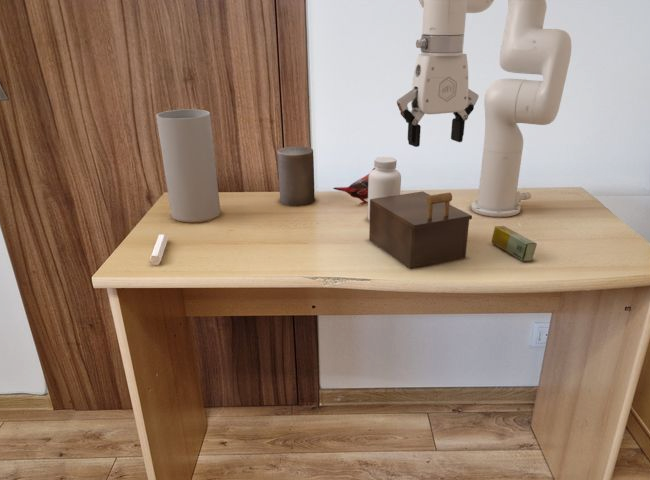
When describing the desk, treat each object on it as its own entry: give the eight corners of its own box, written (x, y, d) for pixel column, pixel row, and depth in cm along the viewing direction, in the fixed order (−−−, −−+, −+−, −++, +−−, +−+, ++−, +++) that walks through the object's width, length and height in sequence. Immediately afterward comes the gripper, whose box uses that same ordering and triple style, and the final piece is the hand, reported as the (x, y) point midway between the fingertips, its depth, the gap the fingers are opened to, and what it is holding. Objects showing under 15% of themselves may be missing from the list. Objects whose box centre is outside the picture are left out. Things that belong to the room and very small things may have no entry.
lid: (471, 219, 129) (474, 192, 126) (414, 229, 124) (415, 201, 121) (422, 194, 144) (424, 170, 141) (369, 202, 139) (370, 177, 136)
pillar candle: (321, 199, 172) (320, 143, 164) (301, 208, 165) (299, 151, 157) (293, 194, 176) (290, 139, 169) (272, 203, 169) (268, 146, 161)
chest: (465, 258, 134) (469, 218, 129) (410, 269, 129) (412, 228, 124) (420, 231, 149) (422, 194, 144) (369, 240, 144) (369, 202, 139)
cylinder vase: (187, 227, 153) (172, 121, 140) (163, 215, 161) (146, 114, 148) (230, 216, 160) (219, 114, 147) (205, 205, 168) (193, 107, 155)
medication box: (533, 261, 132) (538, 243, 130) (523, 262, 131) (528, 244, 129) (499, 241, 142) (503, 224, 140) (490, 242, 140) (493, 225, 139)
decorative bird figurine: (389, 201, 170) (391, 164, 165) (336, 213, 161) (336, 174, 156) (383, 198, 172) (384, 161, 167) (330, 210, 163) (329, 172, 158)
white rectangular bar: (166, 241, 146) (157, 267, 132) (157, 238, 146) (148, 263, 132) (170, 232, 145) (162, 257, 132) (161, 228, 145) (152, 252, 131)
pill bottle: (397, 225, 152) (399, 163, 145) (365, 223, 154) (365, 162, 146) (401, 215, 159) (403, 155, 151) (370, 213, 160) (371, 154, 153)
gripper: (410, 49, 106) (406, 151, 115) (494, 45, 112) (483, 142, 121) (390, 46, 112) (387, 143, 121) (470, 42, 118) (462, 135, 127)
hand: (435, 143), depth 121 cm, fingers open, 9 cm apart
